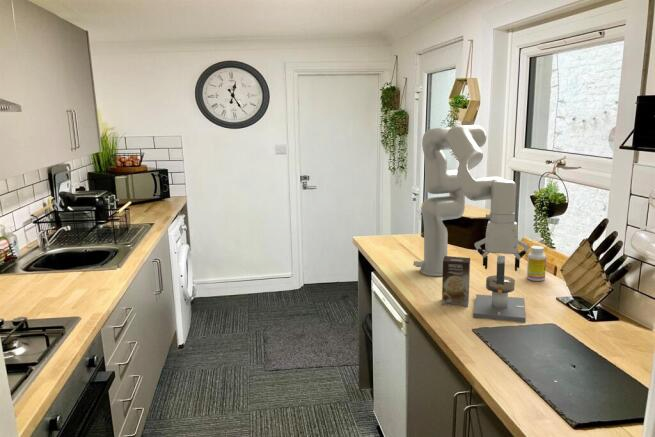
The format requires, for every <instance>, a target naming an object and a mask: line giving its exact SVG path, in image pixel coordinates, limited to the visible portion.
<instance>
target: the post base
mask: <svg viewBox="0 0 655 437" xmlns="http://www.w3.org/2000/svg"><path fill="white" fill-rule="evenodd" d="M525 301H526V300H525V297H514V296H509V293H497V292H492V291H491V295H489V294H476V295H475V302H474V307H473V310H472V311H473V312H472V318H474V319H484V320H496V321H506V322H507V321H508V322H518V323H526V315H527V314H526V304H525Z"/></svg>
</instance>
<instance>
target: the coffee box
mask: <svg viewBox="0 0 655 437" xmlns="http://www.w3.org/2000/svg"><path fill="white" fill-rule="evenodd" d="M470 272H471V257H463V256H462V257H461V256H450V255H447V256H445V257H444V259H443V276H442V282H441V284H442V285H441V287H442V288H441V289H442V290H441V292H442V293H441V305H443V306H444V305H445V306H454V307H455V306H456V307H464V308H468V307H469V301H470V281H471V279H470V278H471V275H470Z"/></svg>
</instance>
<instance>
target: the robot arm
mask: <svg viewBox="0 0 655 437" xmlns="http://www.w3.org/2000/svg"><path fill="white" fill-rule="evenodd" d="M486 141H487V132H486V130H485V129H484V128H483V127H482V126H481V125H478V124H470V125H468V124H466V125H455V126H453V127H452V126H451V127H448V126H447V127H435V128H430V129H428V130H426V131H425V132H424V134H423V136H422V139H421V147H422V152H423V155H424V162H425V166H424V167H425V168H424V170H425V171H424V172H425V174H424V175H425V176H424V177H425V180H424V182H425V190H426V192H427V193H429V194H430V195H441V194H449V195H447V196H446V195H445V196H435V197H430V198H427V199H424V201H423V202H422V204H421V215H422V219H423V220H422V221H423V260H421V261H418V260H413V266H415V267H416V268H419V269H420V270H419V272H420V274H422V275H424V276H428V277H443V259H444V257H445V256H448V237H449V236H448V235H449V234H448V228H447V227H446V226H445V224H444V222H443V221H447V220H454V219H455V220H456V219H459V218H462V217H463V215H464V213H465V208H466V207H465V204H466V199H465V198H467V199H468V200H470V201H475V202H476V201H478V202H479V201H483V200H484V201H486V200H490V213H486V214H485V218H486V219H488V222H487V226H486V229H485V230H486V231H485V238H483V239H480V240H478V241H476V242H474V247H475V249H476V250H477V253H478V254H480V255H481V257H482V266H483V267H484V270H487V269H488V261H489V260H488V254H490V253H491V254H504V255H505V254H506V255H508V254H509V255H514V256H515V257H514V271H515V272H518V269H520V263H521V262H520V261H521V258H523V257H525V255H526V254H527V252H528V251H529V250H530V249H531V247H530V245H529V244H527V243H526V242H524V241H522V240H521V239H519V227H518V222H516V221H515V219H516V197H517V196H516V195H517V191H516V190H517V183H516V182H515V181H513V180H512V179H506V178H503V177H501V176H486V177H485V176H484V177H473V175H472V174H471V172H470V170H472V169H474V168H476V167H477V166H478V165H479V164H480V163H481V162H482V160H483V158H484V154H483V151H482V149H481V148H482V147H483V146H485V144H486ZM443 150H444V151H446V150H451V152H452V154H454V156H455V158H456V159H457V161H458V163H459V165H458V166H457V169H453V168H451V169H450V168H449V169H448V160H447V156H446V154H445V153H444V151H443ZM482 245H484V246H485V248H484V250H483V248H482V247H481V246H482ZM519 246H520V247H522V250H521V251H520V252H519V251H518V250H519Z"/></svg>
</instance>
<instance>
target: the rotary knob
mask: <svg viewBox="0 0 655 437" xmlns="http://www.w3.org/2000/svg"><path fill="white" fill-rule="evenodd" d="M496 259H497V260H496V274H495V275H489V276H487V277H486V279H485V288H486V289H487V290H488V291H490V292H491V293H492V292H497V293H508V294H509V293H512V292H514V291H515V283H516V282H515V281H516V280H515V278H513V277H510V276H508V275H505V273H506V272H505V269H506V268H505V266H506V255H497V258H496Z"/></svg>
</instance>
